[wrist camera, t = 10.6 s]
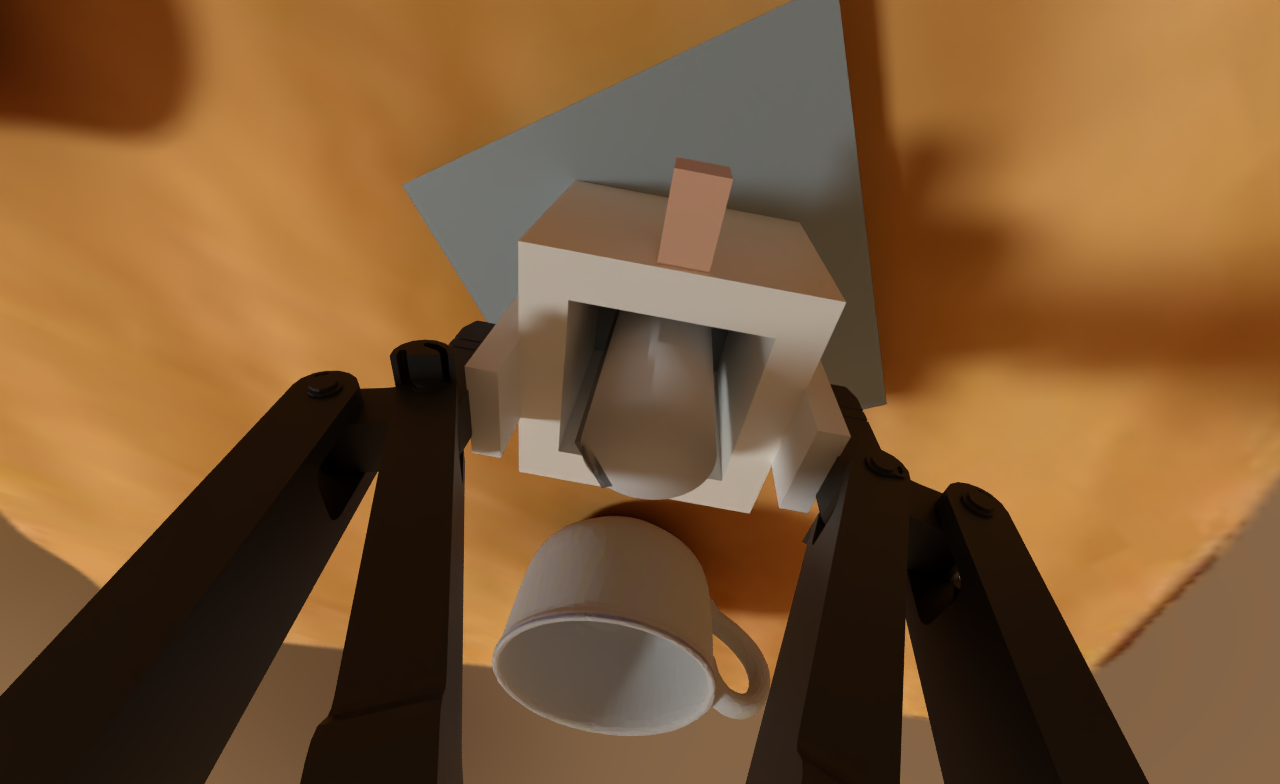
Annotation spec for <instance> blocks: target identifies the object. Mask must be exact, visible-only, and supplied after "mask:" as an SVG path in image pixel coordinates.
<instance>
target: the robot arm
mask: <svg viewBox="0 0 1280 784" xmlns="http://www.w3.org/2000/svg"><path fill="white" fill-rule="evenodd" d="M390 360H391V365H392V370H393V375H394V380H395V385H396V387H392V388H370V389H360V387H359V383H358V381H357V378H356V377H354V376H353V375H351V374H350V373H346V372H342V371H323V372H318V373H313V374H311V375H308V376H306V377H303V378H301V379H300V380H298V381H297V382H296V383H294V384H293V385H292V386H291V387H290V388H289V389H288V390H287V391H286V392H285V394H284V395H283V396H282V397H281V398H280V399H279V400H278V401H277V402H276V403H275V404H274V405H273V406H272V407H271V408H270V409H269V411H268V412H267V413H266V414H265V415H264V416H263V417H262V418H261V419H260V420H259V421H258V422H257V423H256V424H255V425H254V427H253V428H252V429H251V430H250V431H249V432H248V433H247V434H246V435H245V436H244V437H243V438H242V439H241V440H240V441H239V443H238V444H237V445H236V446H235V447H234V448H233V449H232V450H231V451H230V452H229V453H228V454H227V455H226V456H225V457H224V458H223V460H222V461H221V462H220V463H219V464H218V465H217V466H216V467H215V468H214V469H213V470H212V471H211V472H210V473H209V474H208V476H207V477H206V478H205V479H204V480H203V481H202V482H201V483H200V484H199V485H198V486H197V487H196V488H195V489H194V490H193V492H192V493H191V494H190V495H189V496H188V497H187V498H186V499H185V500H184V501H183V502H182V503H181V504H180V505H179V506H178V507H177V509H176V510H175V511H174V512H173V513H172V514H171V515H170V516H169V517H168V518H167V519H166V520H165V521H164V522H163V523H162V525H161V526H160V527H159V528H158V529H157V530H156V531H155V532H154V533H153V534H152V535H151V536H150V537H149V538H148V539H147V541H146V542H145V543H144V544H143V545H142V546H141V547H140V548H139V549H138V550H137V551H136V552H135V553H134V554H133V555H132V556H131V558H130V559H129V560H128V561H127V562H126V563H125V564H124V565H123V566H122V567H121V568H120V569H119V570H118V571H117V572H116V574H115V575H114V576H113V577H112V578H111V579H110V580H109V581H108V582H107V583H106V584H105V585H104V586H103V587H102V588H101V590H100V591H99V592H98V593H97V594H96V595H95V596H94V597H93V598H92V599H91V600H90V601H89V602H88V603H87V604H86V606H85V607H84V608H83V609H82V610H81V611H80V612H79V613H78V614H77V615H76V616H75V617H74V619H72V621H71V622H70V623H69V624H68V625H67V626H66V627H65V628H64V629H63V630H62V631H61V632H60V633H59V634H58V635H57V636H56V637H55V639H54V640H53V641H52V642H51V643H50V644H49V645H48V646H47V647H46V648H45V649H44V650H43V651H42V653H41V654H40V655H39V656H38V657H37V658H36V659H35V660H34V661H33V662H32V663H31V664H30V665H29V666H28V667H27V668H26V669H25V671H24V672H23V673H22V674H21V675H20V676H19V677H18V678H17V679H16V680H15V681H14V682H13V683H12V684H11V685H10V686H9V688H8V689H7V690H6V691H5V692H4V693H3V694H2V695H1V696H0V784H204V783H205V781H206V780H207V778H208V776H209V774H210V773H211V770H212V769H213V767H214V765H215V763H216V762H217V760H218V758H219V756H220V754H221V753H222V751H223V749H224V747H225V746H226V744H227V742H228V740H229V738H230V737H231V735H232V733H233V731H234V729H235V727H236V726H237V724H238V722H239V720H240V718H241V717H242V715H243V713H244V711H245V709H246V708H247V706H248V704H249V702H250V701H251V699H252V697H253V695H254V693H255V692H256V690H257V688H258V686H259V684H260V683H261V681H262V679H263V677H264V675H265V674H266V672H267V670H268V668H269V666H270V665H271V663H272V661H273V659H274V657H275V656H276V654H277V652H278V650H279V648H280V647H281V645H282V643H283V641H284V639H285V638H286V636H287V634H288V632H289V630H290V629H291V627H292V625H293V623H294V621H295V620H296V618H297V616H298V614H299V612H300V611H301V609H302V607H303V605H304V603H305V602H306V600H307V598H308V596H309V594H310V593H311V591H312V589H313V587H314V585H315V584H316V582H317V580H318V578H319V576H320V574H321V573H322V571H323V569H324V567H325V565H326V564H327V562H328V560H329V558H330V556H331V555H332V553H333V551H334V549H335V547H336V546H337V544H338V542H339V540H340V538H341V537H342V535H343V533H344V531H345V529H346V528H347V526H348V524H349V522H350V520H351V519H352V517H353V515H354V513H355V511H356V510H357V508H358V506H359V504H360V502H361V501H362V499H363V497H364V495H365V493H366V492H367V490H368V488H369V486H370V484H371V483H372V481H373V479H374V477H375V475H376V474H377V472H378V471H379V473H378V478H377V483H376V488H375V493H374V498H373V503H372V508H371V513H370V518H369V524H368V529H367V534H366V539H365V544H364V549H363V554H362V559H361V564H360V569H359V574H358V579H357V584H356V589H355V594H354V599H353V605H352V610H351V615H350V620H349V625H348V630H347V635H346V640H345V645H344V650H343V655H342V660H341V666H340V671H339V675H338V680H337V686H336V691H335V696H334V700H333V704H332V708H331V710H330V713H329V715H328V717H327V718H326V719H324V720H323V721H322V722H321V723H320V724H319V725H318V726H317V729H316V731H315V733H314V735H313V737H312V739H311V742H310V746H309V749H308V753H307V757H306V760H305V764H304V769H303V773H302V778H301V782H300V784H463V774H462V751H461V750H462V660H463V572H464V485H465V458H464V448H465V446H466V445H467V443H468V441H469V440H470V438H471V445H472V453H477V454H482V455H488V456H494V457H499V458H501V457H502V454H503V452H504V450H505V448H506V446H507V444H508V442H509V440H510V438H511V436H512V434H513V432H514V430H515V428H516V426H517V424H518V422H519V419H520V336H519V333H518V295H517V296H516V298H515V299H514V300H513V302H512V303H511V305H510V306H509V307H508V309H507V310H506V311H505V313H504V314H503V315H502V317H501V318H500V319H499V321H498V322H497V323H496V324H493V323H488V322H482V321H475V322H473V323H471V324H469V325H467V326H465V327H463V328H462V329H461V331H460V332H459V333H458V334H457V335H456V337H455V339H453V340H452V341H451V342H450V344H449V346H448V345H447V344H445V343H442V342H439V341H434V340H417V341H411V342H408V343H405V344H402V345H400V346H399V347H397V348H395V349H394V350H393V351H392V353H391V355H390ZM862 411H863V409H862V407H861V405H860V403H859V401H858V399H857V397H856V396H855V395H854V394H853V393H852V392H851V391H850V390H849V389H848V388H847V387H844V386H839V385H833V384H830V383H829V380H828V378H827V375H826V373H825V370H824V368H823V365H822V363H821V360H820V361H819V363H818V365H817V368H816V370H815V372H814V374H813V376H812V379H811V381H810V383H809V385H808V387H807V389H805V390H804V392H803V394H802V396H801V399H800V401H799V403H798V405H797V407H796V410H795V412H794V414H793V416H792V418H791V421H790V423H789V425H788V427H787V430H786V432H785V434H784V436H783V438H782V441H781V443H780V445H779V447H778V449H777V452H776V454H775V456H774V458H773V461H772V463H771V465H772V470H773V476H774V481H775V487H776V493H777V498H778V504H779V508H782V509H787V510H793V511H798V512H804V513H808V512H809V510H810V508H811V506H812V505H813V503H814V501H815V499H817V503H818V507H819V511H820V512H819V514H818V516H817V517H816V519H815V521H814V522H813V524H812V526H811V528H810V529H809V531H808V533H807V534H806V536H805V538H804V540H803V541H802V542H804V543H806V544H807V542H808V544H807V548H806V552H805V556H804V560H803V564H802V568H801V571H800V575H799V579H798V583H797V587H796V591H795V595H794V599H793V602H792V606H791V610H790V614H789V618H788V622H787V626H786V630H785V633H784V637H783V641H782V645H781V649H780V653H779V657H778V660H777V664H776V668H775V672H774V676H773V680H772V684H771V688H770V691H769V695H768V699H767V703H766V707H765V711H764V715H763V719H762V723H761V726H760V730H759V734H758V738H757V742H756V746H755V749H754V754H753V757H752V761H751V765H750V769H749V773H748V777H747V780H746V784H900V763H901V734H902V705H903V676H904V647H905V618H906V621H907V626H908V630H909V634H910V639H911V643H912V647H913V651H914V656H915V660H916V664H917V669H918V673H919V677H920V681H921V686H922V690H923V694H924V699H925V703H926V707H927V711H928V716H929V720H930V724H931V729H932V733H933V737H934V741H935V745H936V750H937V754H938V759H939V763H940V767H941V771H942V776H943V780H944V784H1149V783H1148V781H1147V779H1146V777H1145V775H1144V773H1143V771H1142V769H1141V767H1140V766H1139V763H1138V762H1137V760H1136V758H1135V756H1134V754H1133V752H1132V750H1131V748H1130V746H1129V744H1128V742H1127V740H1126V739H1125V736H1124V735H1123V733H1122V731H1121V729H1120V727H1119V725H1118V723H1117V721H1116V719H1115V717H1114V715H1113V713H1112V711H1111V710H1110V708H1109V706H1108V704H1107V702H1106V700H1105V698H1104V696H1103V694H1102V692H1101V690H1100V688H1099V687H1098V684H1097V683H1096V681H1095V679H1094V677H1093V675H1092V673H1091V671H1090V669H1089V667H1088V665H1087V663H1086V661H1085V659H1084V658H1083V656H1082V654H1081V652H1080V650H1079V648H1078V646H1077V644H1076V642H1075V640H1074V638H1073V636H1072V634H1071V633H1070V631H1069V629H1068V627H1067V625H1066V623H1065V621H1064V619H1063V617H1062V615H1061V613H1060V611H1059V609H1058V607H1057V606H1056V604H1055V602H1054V600H1053V598H1052V596H1051V594H1050V592H1049V590H1048V588H1047V586H1046V584H1045V582H1044V581H1043V579H1042V577H1041V575H1040V573H1039V571H1038V569H1037V567H1036V565H1035V563H1034V561H1033V559H1032V557H1031V555H1030V554H1029V552H1028V550H1027V548H1026V546H1025V544H1024V542H1023V540H1022V538H1021V536H1020V534H1019V532H1018V530H1017V529H1016V527H1015V525H1014V523H1013V521H1012V519H1011V517H1010V515H1009V513H1008V512H1007V510H1006V509H1005V508H1004V506H1003V505H1002V504H1001V503H1000V502H999V501H998V500H997V499H996V498H994V497H993V496H992V495H991V494H989V493H988V492H986V491H985V490H983V489H981V488H978V487H976V486H973V485H970V484H967V483H960V482H957V483H952V484H950V485H949V486H948V487H947V489H946V490H945V491H944V492H943V493H940V492H938V491H935V490H933V489H930V488H928V487H925V486H923V485H920V484H918V483H916V482H914V481H911V480H910V476H909V472H908V470H907V469H906V468H905V466H904V465H903V464H902V463H901V462H900V461H899V460H898V459H896V458H895V457H894V456H892V455H890V454H888V453H886V452H885V451H882V450H881V448H880V446H879V444H878V442H877V440H876V438H875V435H874V433H873V431H872V429H871V427H870V425H869V422H867V418H866V416H865V414H864V412H862ZM959 576H960V578H959ZM960 580H961V581H960Z"/></svg>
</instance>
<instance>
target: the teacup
mask: <svg viewBox="0 0 1280 784" xmlns="http://www.w3.org/2000/svg"><path fill="white" fill-rule="evenodd" d="M712 634H714V635H715V636H717V637H718V638H719V639H720V640H722V641H723V642H724V643H725V644H726V645H727V646H728V647H729V648H730V649H731V650H732V651H733V652H734V653H735V654H736V656H737V657H738V658H739V660H740V661H741V662H742V664H743V666H744V667H745V669H746V672H747V675H748V679H749V688H748V690H747V692H746V693H744V694H740V693H737V692H735V691H733V690H731V689H730V688H729V687H728V686H727V685H726V683H725V682H724V681H723V679H722V677H721V676H720V674H719V672H718V668H717V665H716V661H715V658H714V656H713V638H712ZM492 663H493V671H494V673H495V675H496V677H497V680H498V682H499V683H500V684H501V686H502V687H503V688H504V689H505V690H506V692H507V693H508V694H509V695H510V696H511V697H513V698H514V699H515V700H517V701H518V702H519V703H521V704H522V705H523V706H525V707H526V708H528V709H529V710H531V711H533V712H535V713H537V714H538V715H540V716H542V717H546V718H548V719H550V720H552V721H555V722H557V723H558V724H564V725H566V726H568V727H572V728H576V729H580V730H584V731H588V732H596V733H601V734H609V735H619V736H640V735H654V734H660V733H666V732H670V731H674V730H676V729H679V728H682V727H685V726H687V725H688V724H690V723H692V722H693V721H695V720H696V719H699V718H700V717H701V716H702V715H704V714H705V713H706V712H707V711H708V710H709V708H710V707H711V706H712V707H713V708H715V709H716V710H717V711H718V712H720V713H721V714H722V715H725V716H727V717H730V718H735V719H742V720H743V719H746V718H748V717H751V716H754V715H755V714H756V713H757V712H758V711H759V710H760V709H761V708H762V707H763V706H764V705H765V702H766V700H767V698H768V695H769V691H770V675H769V669H768V665H767V663H766V661H765V658H764V656H763V654H762V652H761V651H760V649H759V648H758V646H757V645H756V643H755V642H754V641H753V640H752V639H751V638H750V637H749V635H748V634H747V633H746V632H745V631H743V630H742V629H741V628H740V627H739V626H738V625H737V624H736V623H734V622H733V621H732V620H731V619H729V618H728V617H727V616H726V615H724V614H723V613H722V612H721V611H720V610H719V608H718V607H717V605H716V603H715V602H714V601H713V600H712V598H711V597H710V595H709V589H708V584H707V580H706V576H705V574H704V571H703V568H702V566H701V564H700V562H699V561H698V559H697V558H696V556H695V555H694V554H693V553H692V551H691V550H690V549H689V548H688V547H687V546H686V545H685V544H684V543H683V542H682V541H681V540H679V539H678V538H676V537H675V536H673V535H672V534H670V533H669V532H667V531H665V530H664V529H662V528H660V527H657V526H656V525H653V524H651V523H649V522H647V521H644V520H641V519H637V518H633V517H626V516H605V517H598V518H591V519H586V520H582V521H579V522H576V523H573V524H571V525H569V526H566V527H564V528H563V529H561V530H559V531H558V532H556V533H555V534H553V535H552V536H551V537H550V538H549V539H548V540H547V541H546V542H545V543H544V544H543V545H542V546H541V547H540V549H539V550H538V551H537V553H536V554H535V556H534V558H533V559H532V561H531V563H530V565H529V567H528V570H527V572H526V574H525V576H524V579H523V581H522V584H521V586H520V589H519V591H518V594H517V596H516V599H515V602H514V605H513V608H512V610H511V613H510V616H509V619H508V621H507V624H506V627H505V630H504V633H503V636H502V638H501V639H500V640H499V641H498V643H497V645H496V648H495V650H494V653H493V660H492Z"/></svg>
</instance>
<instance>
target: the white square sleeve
mask: <svg viewBox="0 0 1280 784" xmlns="http://www.w3.org/2000/svg"><path fill="white" fill-rule="evenodd" d="M732 182H733V176H732V173H731V169H730V167H727V166H722V165H717V164H711V163H706V162H701V161H695V160H690V159H685V158H680V157H676V162H675V166H674V172H673V177H672V183H671V188H670V194H669V198H667V197H662V196H657V195H651V194H646V193H641V192H636V191H630V190H625V189H620V188H614V187H609V186H604V185H598V184H593V183H588V182H583V181H577V180H575V181H574V182H573V183H572V184H571V186H570V187H569V188H568V189H567V190H566V191H565V192H564V193H563V194H562V195H561V196H560V197H559V198H558V199H557V200H556V201H555V202H554V204H553V205H552V206H551V207H550V208H549V209H548V210H547V211H546V212H545V213H544V214H543V215H542V216H541V217H540V218H539V219H538V220H537V222H536V223H535V224H534V225H533V226H532V227H531V228H530V229H529V230H528V231H527V232H526V233H525V234H524V235H523V236H522V237H521V238H520V240H519V241H518V333H519V336H520V419H519V472H524V473H529V474H535V475H540V476H546V477H551V478H557V479H562V480H568V481H573V482H579V483H584V484H590V485H595V486H600V484H599V483H598V481H597V479H596V478H595V476H594V475H593V474H592V473H591V472H590V470H589V469H588V468H587V466H586V464H585V462H584V460H583V457H582V454H581V453H580V451H579V450H578V448H577V446H576V445H575V439H576V436H577V433H578V430H579V427H580V424H581V420H582V417H583V414H584V411H585V408H586V405H587V401H588V398H589V395H590V392H591V389H592V386H593V383H594V379H595V376H596V373H597V370H598V367H599V364H600V360H601V357H602V354H603V351H604V350H599V349H594V346H595V337H596V328H597V319H598V310H599V306H603V307H608V308H613V309H619V310H624V311H630V312H635V313H640V314H646V315H651V316H656V317H662V318H667V319H673V320H678V321H683V322H689V323H694V324H699V325H705V326H710V327H716V328H721V329H726V330H729V331H728V334H727V337H726V340H725V344H724V347H723V350H722V354H721V357H720V360H719V363H718V367H717V370H716V371H713V377H714V399H715V421H716V443H717V459H716V463H715V467H714V469H713V471H712V473H711V474H710V476H709V477H708V478H707V479H706V481H705V482H704V483H702V484H701V485H700V486H699V487H697V488H696V489H694V490H693V491H691V492H689V493H686V494H684V495H681V496H678V497H674V498H669V499H672V500H677V501H683V502H688V503H694V504H699V505H705V506H710V507H716V508H721V509H727V510H732V511H738V512H743V513H749V514H750V512H751V510H752V507H753V505H754V503H755V501H756V499H757V497H758V494H759V492H760V490H761V488H762V486H763V483H764V481H765V479H766V477H767V475H768V472H769V470H770V468H771V466H772V465H771V463H772V461H773V458H774V456H775V454H776V452H777V449H778V447H779V445H780V443H781V441H782V438H783V436H784V434H785V432H786V430H787V427H788V425H789V423H790V421H791V418H792V416H793V414H794V412H795V410H796V407H797V405H798V403H799V401H800V399H801V396H802V394H803V392H804V390H805V389H807V387H808V385H809V383H810V381H811V379H812V376H813V374H814V372H815V370H816V368H817V365H818V363H819V361H820V359H821V357H822V354H823V352H824V350H825V348H826V346H827V344H828V341H829V339H830V337H831V335H832V333H833V330H834V328H835V326H836V324H837V322H838V320H839V317H840V315H841V313H842V311H843V309H844V306H845V304H846V301H845V299H844V297H843V296H842V294H841V292H840V291H839V289H838V287H837V285H836V284H835V282H834V280H833V279H832V277H831V275H830V274H829V272H828V270H827V268H826V267H825V265H824V263H823V262H822V260H821V258H820V256H819V255H818V253H817V251H816V250H815V248H814V246H813V244H812V243H811V241H810V239H809V238H808V236H807V234H806V232H805V231H804V229H803V227H802V226H801V224H800V222H795V221H789V220H784V219H779V218H773V217H768V216H763V215H757V214H752V213H747V212H742V211H736V210H731V209H726V206H727V202H728V198H729V194H730V190H731V186H732ZM606 488H609V487H606Z"/></svg>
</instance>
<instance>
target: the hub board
mask: <svg viewBox="0 0 1280 784" xmlns="http://www.w3.org/2000/svg"><path fill="white" fill-rule="evenodd" d="M676 157H680V158H685V159H690V160H695V161H701V162H706V163H711V164H717V165H722V166H727V167H730V169H731V173H732V176H733V182H732V186H731V190H730V194H729V198H728V202H727V206H726V209H731V210H736V211H742V212H747V213H752V214H757V215H763V216H768V217H773V218H779V219H784V220H789V221H795V222H800V224H801V226H802V227H803V229H804V231H805V232H806V234H807V236H808V238H809V239H810V241H811V243H812V244H813V246H814V248H815V250H816V251H817V253H818V255H819V256H820V258H821V260H822V262H823V263H824V265H825V267H826V268H827V270H828V272H829V274H830V275H831V277H832V279H833V280H834V282H835V284H836V285H837V287H838V289H839V291H840V292H841V294H842V296H843V297H844V299H845V301H846V304H845V306H844V309H843V311H842V313H841V315H840V317H839V320H838V322H837V324H836V326H835V328H834V330H833V333H832V335H831V337H830V339H829V341H828V344H827V346H826V348H825V350H824V352H823V354H822V357H821V359H820V360H821V363H822V365H823V368H824V370H825V373H826V375H827V378H828V380H829V383H830V384H833V385H839V386H844V387H847V388H848V389H849V390H850V391H851V392H852V393H853V394H854V395H855V396H856V397H857V399H858V401H859V403H860V405H861V407H862V409H867V408H872V407H876V406H881V405H886V404H887V402H886V394H885V385H884V377H883V368H882V360H881V351H880V343H879V334H878V326H877V317H876V309H875V300H874V292H873V283H872V275H871V266H870V258H869V249H868V241H867V232H866V224H865V215H864V207H863V198H862V190H861V181H860V173H859V164H858V156H857V147H856V139H855V130H854V122H853V113H852V105H851V96H850V88H849V79H848V71H847V62H846V54H845V45H844V37H843V28H842V20H841V11H840V3H839V0H793V1H791V2H789V3H787V4H785V5H782V6H780V7H778V8H776V9H774V10H772V11H770V12H768V13H765V14H763V15H761V16H759V17H757V18H755V19H753V20H751V21H748V22H746V23H744V24H742V25H740V26H738V27H736V28H734V29H732V30H729V31H727V32H725V33H723V34H721V35H719V36H717V37H715V38H712V39H710V40H708V41H706V42H704V43H702V44H700V45H698V46H695V47H693V48H691V49H689V50H687V51H685V52H683V53H681V54H678V55H676V56H674V57H672V58H670V59H668V60H666V61H664V62H662V63H659V64H657V65H655V66H653V67H651V68H649V69H647V70H645V71H642V72H640V73H638V74H636V75H634V76H632V77H630V78H628V79H625V80H623V81H621V82H619V83H617V84H615V85H613V86H611V87H609V88H606V89H604V90H602V91H600V92H598V93H596V94H594V95H592V96H589V97H587V98H585V99H583V100H581V101H579V102H577V103H575V104H572V105H570V106H568V107H566V108H564V109H562V110H560V111H558V112H556V113H553V114H551V115H549V116H547V117H545V118H543V119H541V120H539V121H536V122H534V123H532V124H530V125H528V126H526V127H524V128H522V129H519V130H517V131H515V132H513V133H511V134H509V135H507V136H505V137H503V138H500V139H498V140H496V141H494V142H492V143H490V144H488V145H486V146H483V147H481V148H479V149H477V150H475V151H473V152H471V153H469V154H466V155H464V156H462V157H460V158H458V159H456V160H454V161H452V162H450V163H447V164H445V165H443V166H441V167H439V168H437V169H435V170H433V171H430V172H428V173H426V174H424V175H422V176H420V177H418V178H416V179H413V180H411V181H409V182H407V183H405V184H403V185H402V186H403V187H404V189H405V191H406V192H407V194H408V195H409V197H410V199H411V200H412V202H413V203H414V205H415V207H416V208H417V210H418V211H419V213H420V215H421V216H422V218H423V219H424V221H425V223H426V224H427V226H428V227H429V229H430V231H431V232H432V234H433V235H434V237H435V239H436V240H437V242H438V243H439V245H440V247H441V248H442V250H443V251H444V253H445V255H446V256H447V258H448V260H449V261H450V263H451V264H452V266H453V268H454V269H455V271H456V272H457V274H458V276H459V277H460V279H461V280H462V282H463V284H464V285H465V287H466V288H467V290H468V292H469V293H470V295H471V296H472V298H473V300H474V301H475V303H476V304H477V306H478V308H479V309H480V311H481V312H482V314H483V316H484V317H485V319H486V320H487V322H488V323H493V324H496V323H497V322H498V321H499V319H500V318H501V317H502V315H503V314H504V313H505V311H506V310H507V309H508V307H509V306H510V305H511V303H512V302H513V300H514V299H515V298H516V296H517V295H518V241H519V240H520V238H521V237H522V236H523V235H524V234H525V233H526V232H527V231H528V230H529V229H530V228H531V227H532V226H533V225H534V224H535V223H536V222H537V220H538V219H539V218H540V217H541V216H542V215H543V214H544V213H545V212H546V211H547V210H548V209H549V208H550V207H551V206H552V205H553V204H554V202H555V201H556V200H557V199H558V198H559V197H560V196H561V195H562V194H563V193H564V192H565V191H566V190H567V189H568V188H569V187H570V186H571V184H572V183H573V182H574V181H575V180H577V181H583V182H588V183H593V184H598V185H604V186H609V187H614V188H620V189H625V190H630V191H636V192H641V193H646V194H651V195H657V196H662V197H667V198H669V194H670V188H671V183H672V177H673V172H674V166H675V162H676ZM728 331H729V330H726V329H721V328H716V327H710V326H705V325H699V324H694V323H689V322H683V321H678V320H673V319H667V318H662V317H656V316H651V315H646V314H640V313H635V312H630V311H624V310H619V309H613V308H608V307H603V306H599V310H598V319H597V328H596V337H595V346H594V349H599V350H604V351H603V354H602V357H601V360H600V364H599V367H598V370H597V373H596V376H595V379H594V383H593V386H592V389H591V392H590V395H589V398H588V401H587V405H586V408H585V411H584V414H583V417H582V420H581V424H580V427H579V430H578V433H577V436H576V439H575V445H576V446H577V448H578V450H579V451H580V453H581V454H582V457H583V460H584V462H585V464H586V466H587V468H588V469H589V470H590V472H591V473H592V474H593V475H594V476H595V478H596V479H597V481H598V483H599V484H600V486H601V487H602V488H606V487H609V488H611V489H612V490H614V491H616V492H619V493H621V494H624V495H627V496H630V497H634V498H640V499H649V500H660V499H669V498H674V497H678V496H681V495H684V494H686V493H689V492H691V491H693V490H694V489H696V488H697V487H699V486H700V485H701V484H702V483H704V482H705V481H706V479H707V478H708V477H709V476H710V474H711V473H712V471H713V469H714V467H715V463H716V459H717V443H716V421H715V399H714V377H713V371H716V370H717V367H718V363H719V360H720V357H721V354H722V350H723V347H724V344H725V340H726V337H727V334H728Z"/></svg>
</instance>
